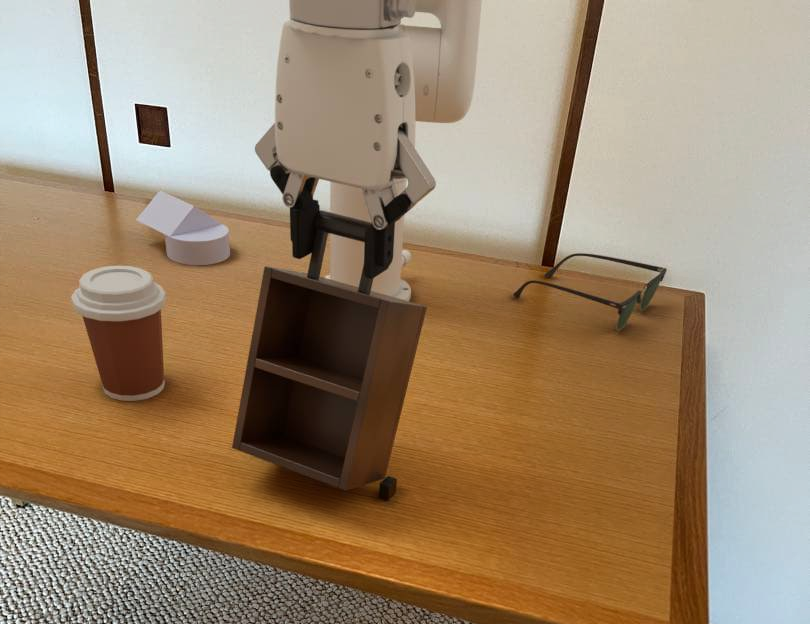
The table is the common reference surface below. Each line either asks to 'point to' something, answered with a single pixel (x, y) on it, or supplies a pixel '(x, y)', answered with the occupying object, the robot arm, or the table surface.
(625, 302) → the sunglasses
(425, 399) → the table surface
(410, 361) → the shelf
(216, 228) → the wedge on round base
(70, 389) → the table surface
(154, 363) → the coffee cup
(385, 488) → the dark brown rod
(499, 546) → the table surface
